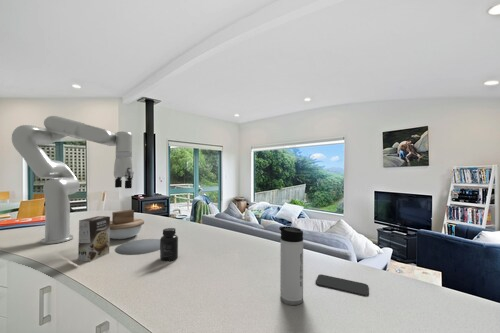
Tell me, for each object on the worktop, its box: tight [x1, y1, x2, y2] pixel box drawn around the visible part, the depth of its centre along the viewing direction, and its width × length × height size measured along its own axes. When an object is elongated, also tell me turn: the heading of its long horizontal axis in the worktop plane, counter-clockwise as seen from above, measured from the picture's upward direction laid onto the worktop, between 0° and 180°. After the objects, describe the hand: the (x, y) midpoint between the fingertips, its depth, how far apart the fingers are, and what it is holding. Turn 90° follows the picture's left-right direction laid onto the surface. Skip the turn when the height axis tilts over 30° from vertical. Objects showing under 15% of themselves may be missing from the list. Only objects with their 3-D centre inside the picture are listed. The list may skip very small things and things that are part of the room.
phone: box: [314, 274, 369, 297], centre depth 71 cm, size 7×1×15 cm
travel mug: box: [279, 225, 304, 306], centre depth 64 cm, size 6×7×20 cm
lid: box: [110, 209, 145, 230], centre depth 120 cm, size 20×20×7 cm
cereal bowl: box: [110, 225, 142, 240], centre depth 120 cm, size 17×17×7 cm
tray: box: [114, 238, 161, 256], centre depth 105 cm, size 22×22×1 cm
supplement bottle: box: [159, 227, 179, 263], centre depth 91 cm, size 7×7×12 cm
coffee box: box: [77, 215, 111, 262], centre depth 93 cm, size 9×6×16 cm
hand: (123, 187), depth 120 cm, fingers open, 9 cm apart
